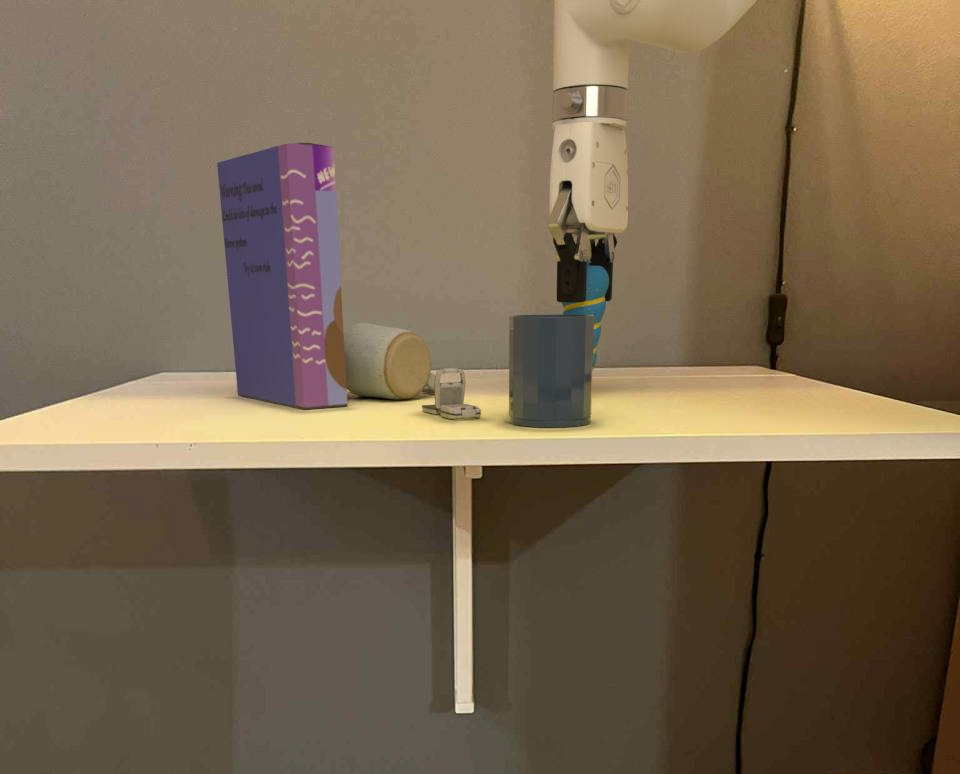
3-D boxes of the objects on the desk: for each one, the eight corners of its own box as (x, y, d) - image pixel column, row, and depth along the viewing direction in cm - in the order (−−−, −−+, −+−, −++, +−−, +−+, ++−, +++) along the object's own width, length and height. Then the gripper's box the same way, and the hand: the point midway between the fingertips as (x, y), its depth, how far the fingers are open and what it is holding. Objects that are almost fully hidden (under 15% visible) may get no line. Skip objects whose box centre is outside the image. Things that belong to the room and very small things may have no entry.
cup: (604, 419, 88) (607, 314, 85) (567, 429, 83) (570, 317, 80) (534, 415, 92) (535, 314, 89) (494, 424, 86) (494, 316, 83)
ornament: (598, 391, 112) (602, 249, 107) (611, 396, 107) (616, 248, 102) (553, 392, 111) (556, 249, 106) (565, 397, 106) (568, 248, 101)
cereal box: (347, 406, 100) (333, 144, 92) (304, 409, 97) (286, 140, 89) (277, 392, 114) (259, 163, 105) (238, 395, 111) (216, 160, 103)
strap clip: (484, 419, 90) (483, 370, 88) (453, 420, 89) (453, 372, 87) (447, 409, 97) (447, 364, 96) (419, 410, 96) (418, 365, 95)
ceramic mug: (388, 403, 102) (386, 325, 99) (336, 397, 107) (332, 323, 104) (457, 396, 109) (457, 323, 107) (405, 391, 114) (404, 322, 112)
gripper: (585, 96, 91) (580, 303, 97) (656, 120, 105) (648, 300, 111) (515, 104, 95) (514, 303, 101) (592, 126, 108) (588, 300, 114)
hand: (584, 299), depth 106 cm, fingers open, 5 cm apart
